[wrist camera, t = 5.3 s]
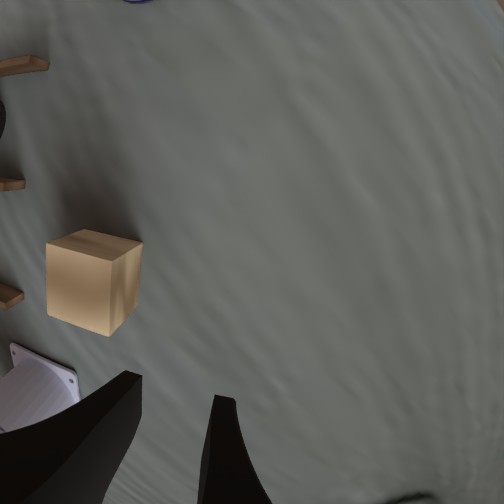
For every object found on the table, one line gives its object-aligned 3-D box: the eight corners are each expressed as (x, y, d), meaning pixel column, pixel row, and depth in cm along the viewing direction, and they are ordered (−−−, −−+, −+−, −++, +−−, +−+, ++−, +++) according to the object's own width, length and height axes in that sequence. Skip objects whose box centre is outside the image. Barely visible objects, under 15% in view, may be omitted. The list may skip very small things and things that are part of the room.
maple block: (137, 306, 20) (109, 337, 16) (82, 289, 20) (47, 314, 16) (143, 242, 19) (112, 261, 15) (85, 228, 19) (46, 243, 14)
